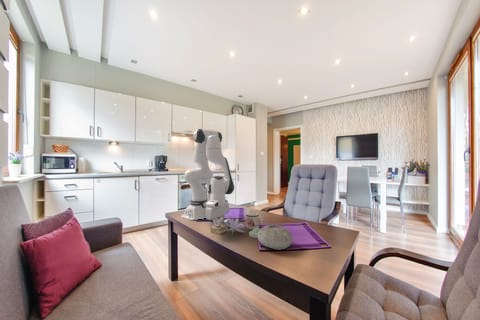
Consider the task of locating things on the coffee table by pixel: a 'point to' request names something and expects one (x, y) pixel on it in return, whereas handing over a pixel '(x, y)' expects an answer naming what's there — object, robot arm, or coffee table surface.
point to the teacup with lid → (252, 220)
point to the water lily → (235, 225)
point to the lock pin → (218, 222)
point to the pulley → (227, 222)
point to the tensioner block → (218, 229)
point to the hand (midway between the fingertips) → (218, 223)
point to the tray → (254, 233)
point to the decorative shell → (275, 237)
